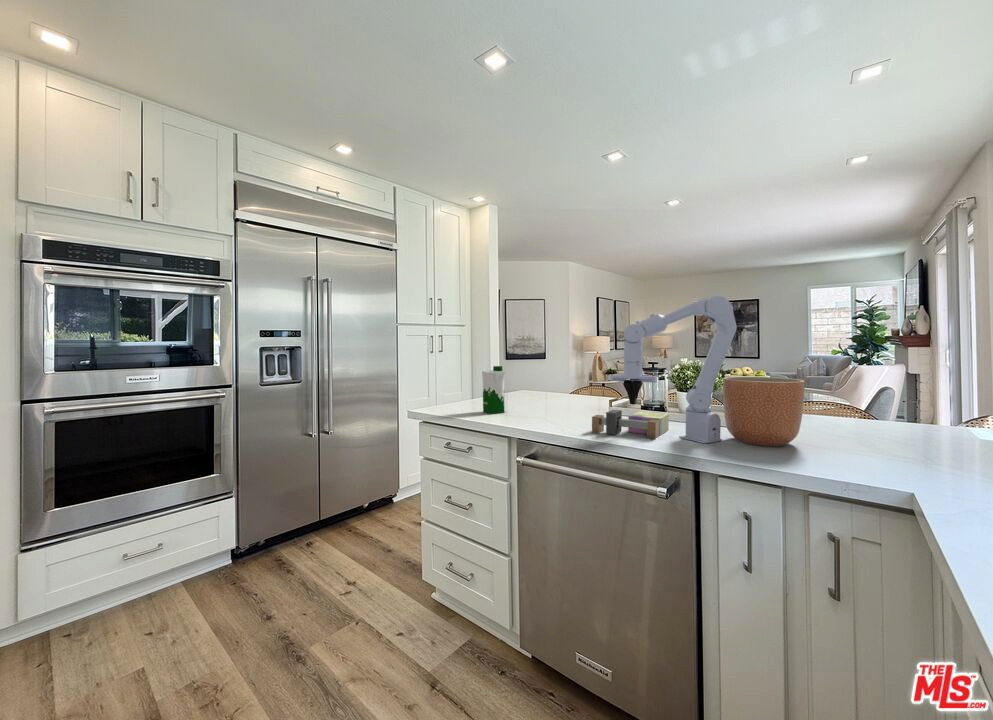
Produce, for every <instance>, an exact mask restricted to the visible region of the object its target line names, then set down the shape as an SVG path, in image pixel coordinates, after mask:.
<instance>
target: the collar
mask: <svg viewBox="0 0 993 720" xmlns="http://www.w3.org/2000/svg"><path fill="white" fill-rule="evenodd" d="M605 414H606V415H605V417H606V425H605V435H613V436H614V435H615V436H616V435H618V434H619V433H620V432H622V427H620V426H617V418H618V419H623V418H622V417H623V416H622V410H621V409H612V410H609V411H607V412H606V413H605Z"/></svg>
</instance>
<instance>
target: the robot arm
mask: <svg viewBox="0 0 993 720" xmlns="http://www.w3.org/2000/svg"><path fill="white" fill-rule="evenodd" d="M691 316H698V317H702V316H705V317H706V318H708V319H709V320H710V321H711V322H712V324H713V325H714V327H715V328H716V333H715V336H714V339H713V340H712V343H711V345H710V348H709V350H708V353H707V354H706V355H707V356H706V358H705V360H704V362H703V365H702V367H701V369H700V372H699V374H698V377H697V379H695V382H694V384H693V386H692V388H690V389H689V390H688V391H687V393H686V395H685V396H686V397H685V398H686V402H687V403H688V406H687V407H686V408H685V434H683V435H678V438H680V439H685V440H689V441H694V442H697V443H701V444H702V443H703V444H709V443H714V442H715V443H716V442H721V441H722V440H723V439H722V438H721V425H722V424H721V418H720V416H719V414H717V413H715V412H712V408H711V405H712V403H713V402H712V393H713V391H714V386H715V383H716V379H717V377H718V375H719V373H720V371H721V368H722V365H723V363H724V360H725V358H726V356H727V353H728V351H729V349H730V347H731V344H732V341H733V340H734V336H735V335H736V332H737V329H738V327H737V323H736V317H735V314H734V306H733V305H732V304H731V302H730V301H729V299H728V298H726V297H725V296H723V295H714V296H712V297H710V298H705V299H701V300H698V301H693V302H692V303H689V304H686V305H685V306H683V307H681V308H679V309H678V308H677V309H676V310H674V311H672V312H670V313H668V314H665V315H662V314H659V313H657V314H654V313H652V314H649V317H647V318H645V319H642V320H640V321H639V320H636V321H635V323H631V324H629V325H628V326H626V327H625V329H624V331H623V338H624V342H623V343H624V344H623V345H624V347H623V374H611V375H609V381H610V382H623V383H622V385H623V387H624V389H625V392H626V393H627V397H628V400H629V404H630V405H636V404H637V399H638V395H639V393H640V391H641V388H642V386H643V384H644V383H652V384H653V383H655V384H656V383H658V378H657V377H658V376H657V375H644V374H643V347H642V339H643V338H645V339H647V338H649V337H652V336H655V335H658V334H660V333H662V332H665V331H666V330H667V327H668V325H670V324H673V323H676V322H678V321H681V320H683V319H686V318H689V317H691Z"/></svg>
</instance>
